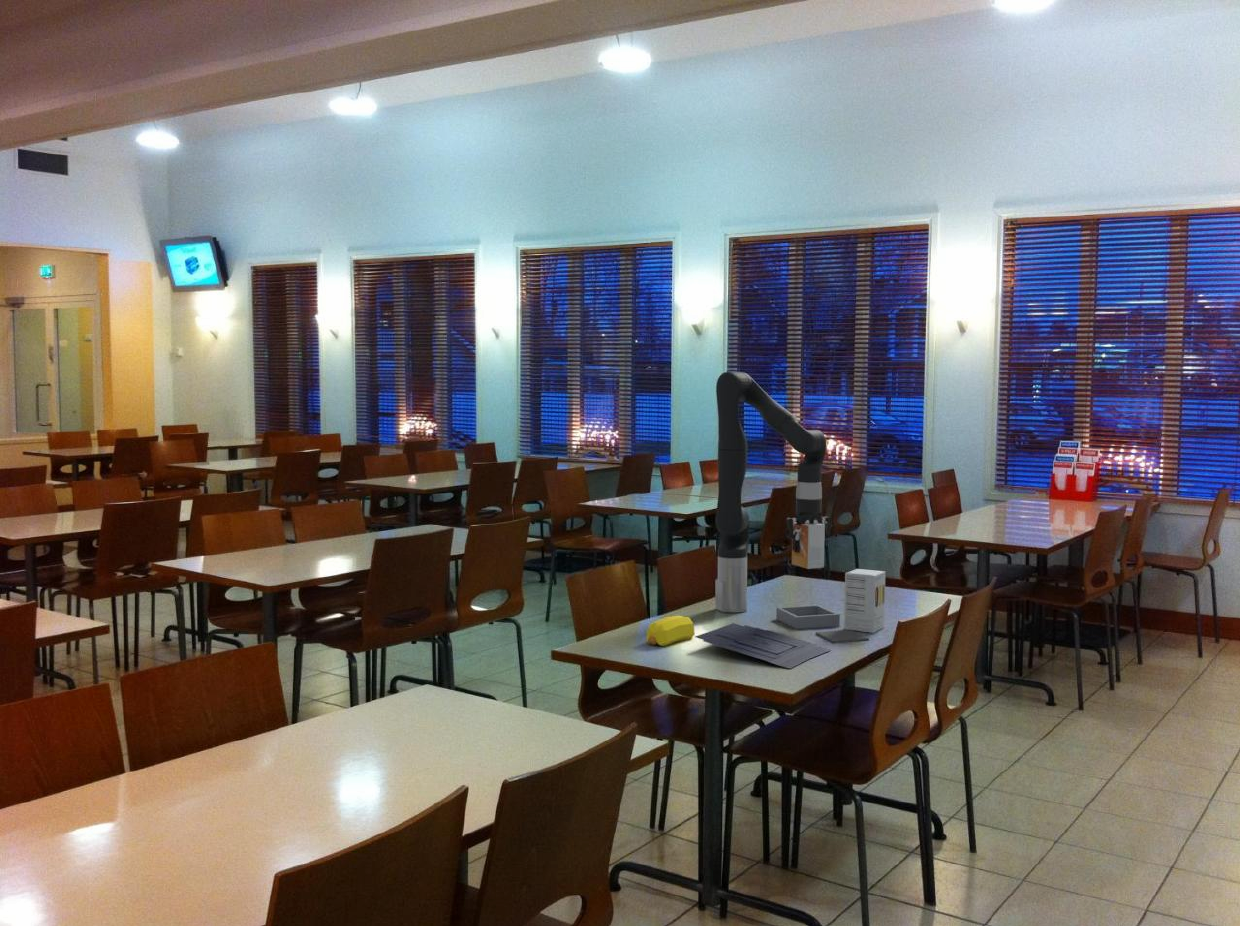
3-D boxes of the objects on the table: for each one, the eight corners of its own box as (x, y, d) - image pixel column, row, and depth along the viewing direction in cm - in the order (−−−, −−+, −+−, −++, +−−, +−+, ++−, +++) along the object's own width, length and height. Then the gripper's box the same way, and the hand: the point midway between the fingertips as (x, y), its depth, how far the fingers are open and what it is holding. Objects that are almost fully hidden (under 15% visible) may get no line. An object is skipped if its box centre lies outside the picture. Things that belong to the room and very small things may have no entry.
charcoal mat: (833, 642, 304) (833, 640, 304) (815, 634, 314) (815, 632, 314) (869, 640, 307) (869, 638, 307) (850, 631, 317) (850, 629, 317)
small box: (790, 564, 330) (791, 522, 329) (807, 563, 333) (808, 520, 332) (807, 569, 323) (808, 525, 322) (824, 567, 326) (825, 524, 325)
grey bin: (796, 628, 321) (796, 617, 320) (776, 618, 334) (776, 607, 334) (839, 625, 325) (839, 614, 324) (818, 616, 338) (818, 604, 338)
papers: (735, 631, 313) (736, 618, 313) (830, 659, 296) (832, 646, 295) (689, 647, 294) (690, 634, 293) (788, 679, 276) (790, 665, 276)
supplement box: (874, 633, 315) (874, 575, 314) (843, 629, 320) (844, 572, 319) (885, 627, 323) (886, 570, 322) (855, 623, 328) (856, 567, 327)
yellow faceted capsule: (639, 645, 302) (660, 649, 297) (639, 621, 302) (660, 625, 297) (679, 633, 316) (701, 637, 311) (679, 610, 315) (701, 614, 310)
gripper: (792, 498, 321) (791, 554, 322) (836, 497, 325) (835, 552, 326) (781, 496, 328) (780, 550, 329) (825, 494, 332) (824, 549, 333)
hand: (808, 551), depth 328 cm, fingers closed on small box, 7 cm apart
